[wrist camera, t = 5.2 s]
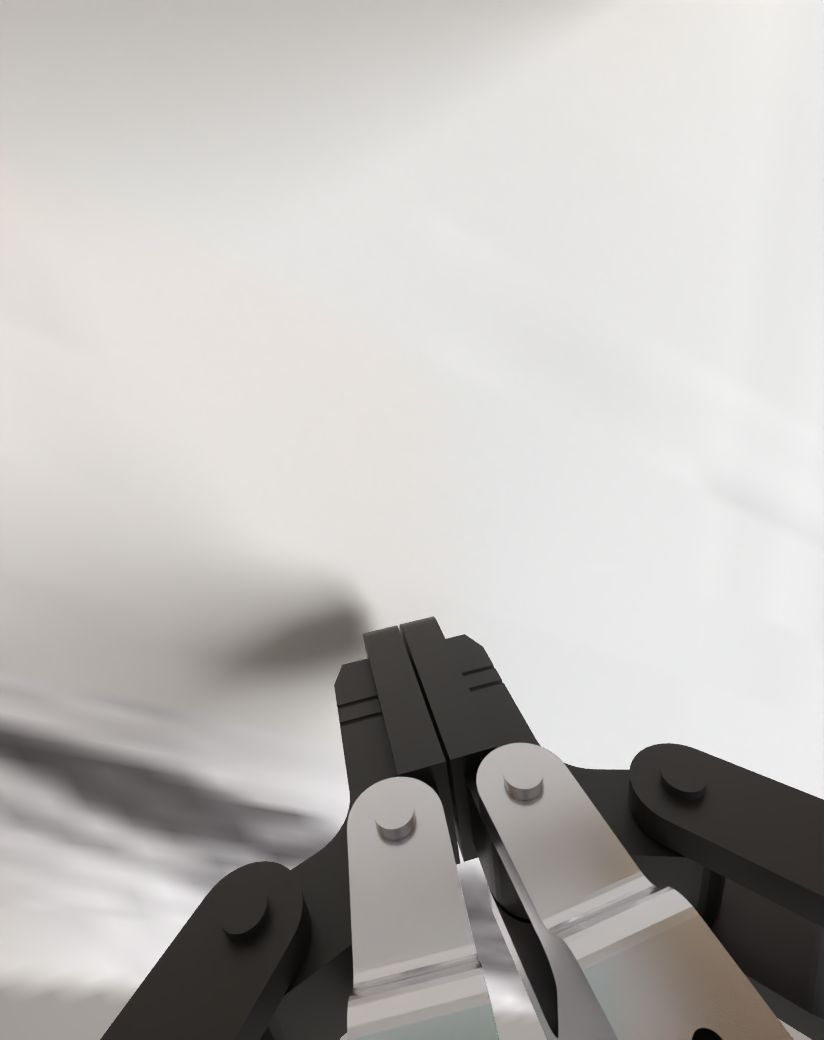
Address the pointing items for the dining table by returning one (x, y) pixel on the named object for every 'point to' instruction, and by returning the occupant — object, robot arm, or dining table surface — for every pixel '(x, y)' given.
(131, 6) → the dining table surface
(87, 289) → the dining table surface
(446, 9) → the dining table surface
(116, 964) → the dining table surface
